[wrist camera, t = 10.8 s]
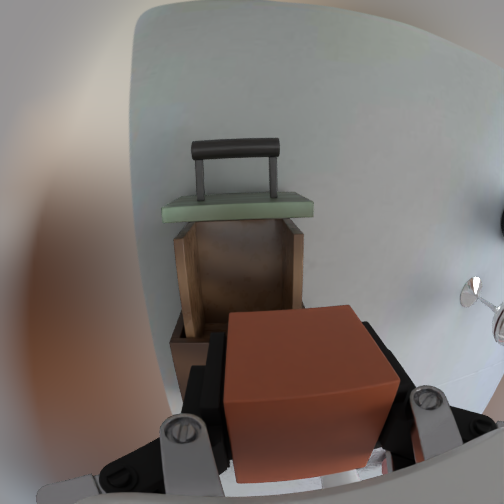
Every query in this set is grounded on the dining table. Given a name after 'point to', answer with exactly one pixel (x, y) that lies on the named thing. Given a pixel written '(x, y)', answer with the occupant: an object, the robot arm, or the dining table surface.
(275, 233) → the drawer
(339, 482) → the drinking glass
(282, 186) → the dining table surface
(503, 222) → the supplement bottle
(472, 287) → the wineglass
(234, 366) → the block
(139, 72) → the dining table surface
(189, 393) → the robot arm
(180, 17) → the dining table surface
